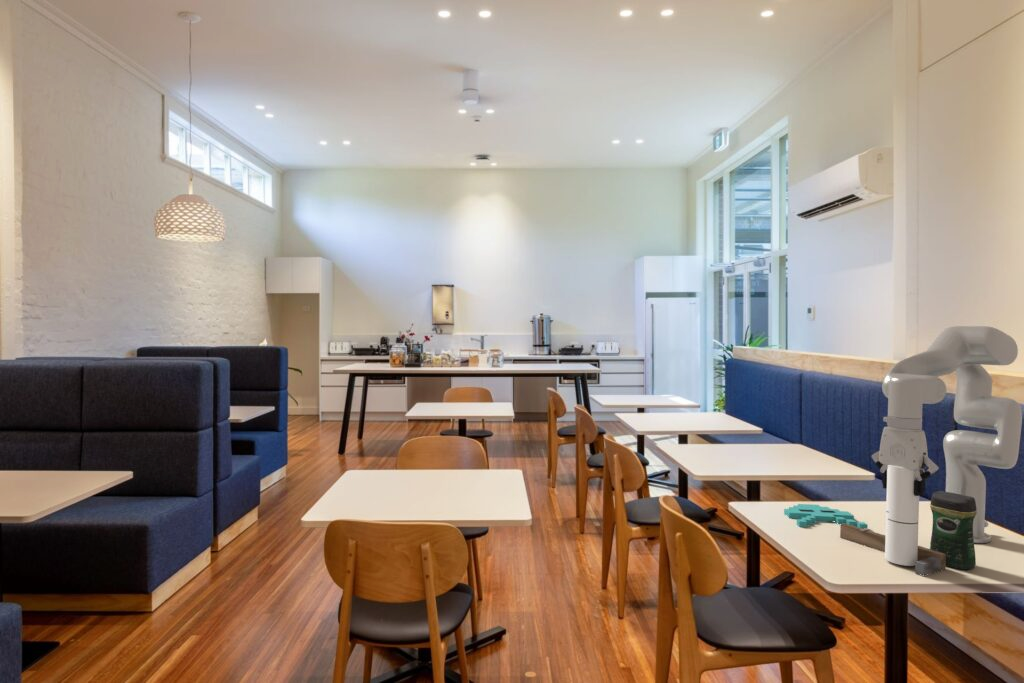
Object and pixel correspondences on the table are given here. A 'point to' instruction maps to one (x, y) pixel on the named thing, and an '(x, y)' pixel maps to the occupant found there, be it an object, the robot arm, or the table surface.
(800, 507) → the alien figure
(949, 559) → the coffee jar
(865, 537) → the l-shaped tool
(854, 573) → the table surface
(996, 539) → the table surface
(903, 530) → the cylindrical container
